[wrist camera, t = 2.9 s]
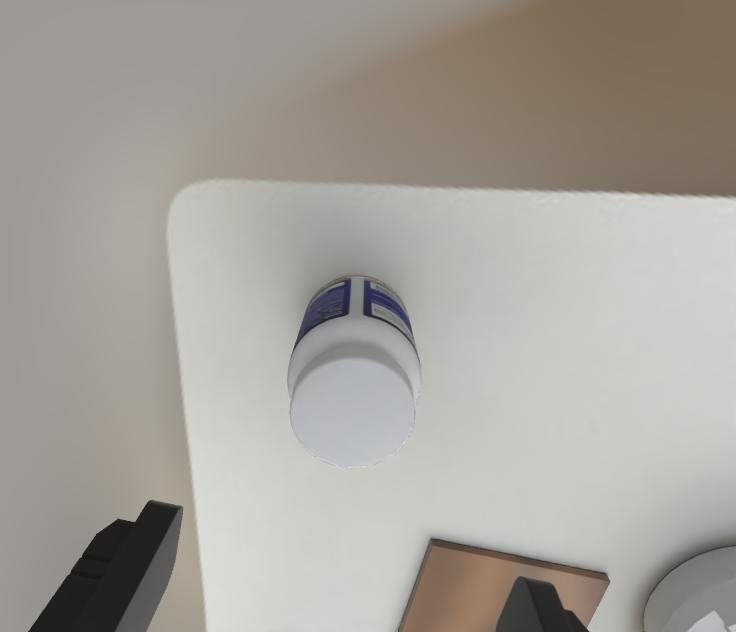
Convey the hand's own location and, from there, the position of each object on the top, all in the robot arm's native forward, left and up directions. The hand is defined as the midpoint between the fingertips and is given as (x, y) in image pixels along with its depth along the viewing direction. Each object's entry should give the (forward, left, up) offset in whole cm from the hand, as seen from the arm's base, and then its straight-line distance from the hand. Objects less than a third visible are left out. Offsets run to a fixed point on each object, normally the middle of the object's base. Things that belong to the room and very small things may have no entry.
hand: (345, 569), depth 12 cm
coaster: (+14, -19, -17) cm, 29 cm away
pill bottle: (0, 0, -17) cm, 17 cm away
